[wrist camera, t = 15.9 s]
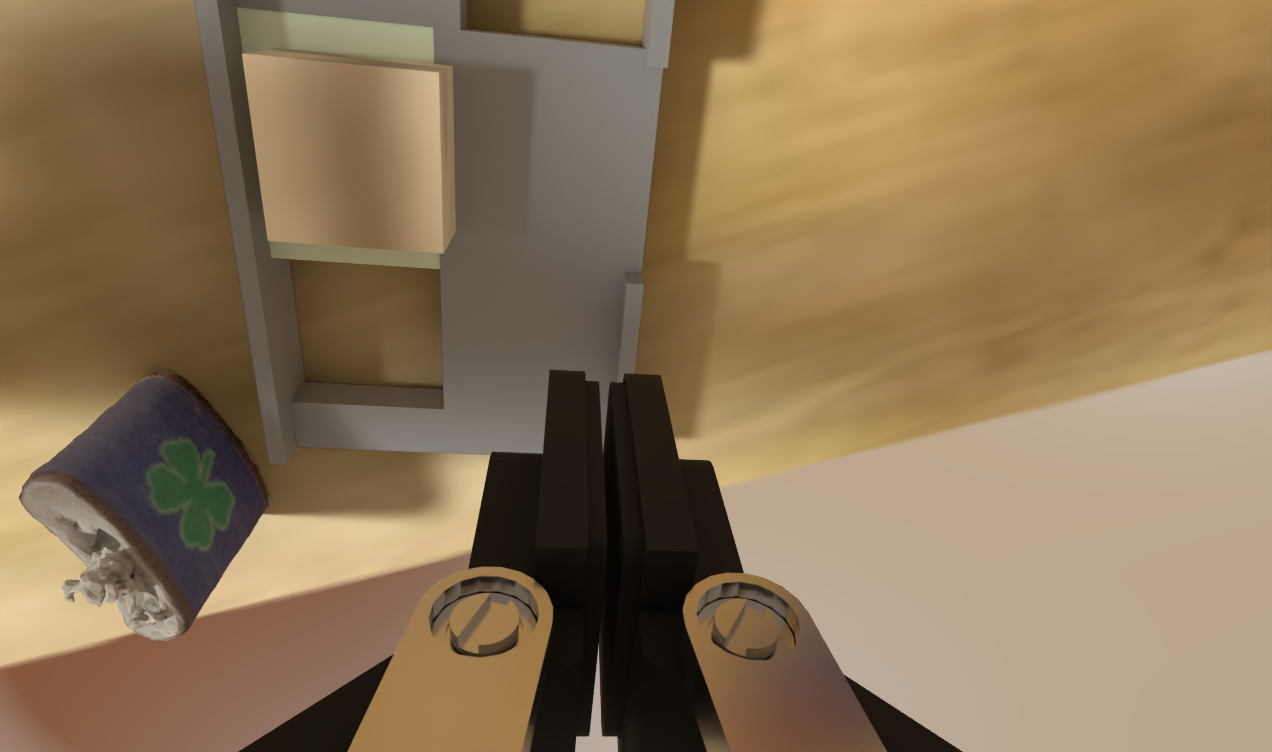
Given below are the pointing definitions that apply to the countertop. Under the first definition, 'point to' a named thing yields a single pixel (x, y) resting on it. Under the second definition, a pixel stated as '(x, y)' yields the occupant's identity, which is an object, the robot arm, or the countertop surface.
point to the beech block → (353, 149)
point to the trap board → (462, 221)
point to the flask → (151, 504)
